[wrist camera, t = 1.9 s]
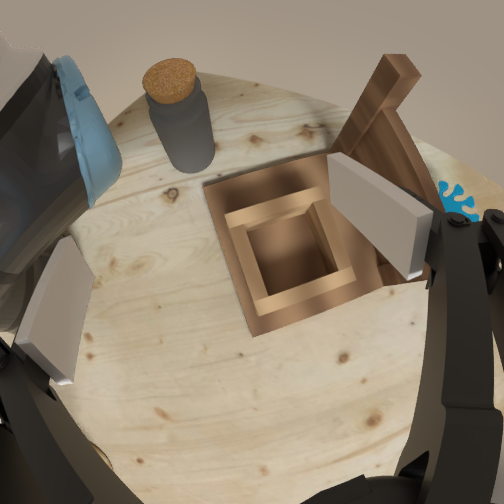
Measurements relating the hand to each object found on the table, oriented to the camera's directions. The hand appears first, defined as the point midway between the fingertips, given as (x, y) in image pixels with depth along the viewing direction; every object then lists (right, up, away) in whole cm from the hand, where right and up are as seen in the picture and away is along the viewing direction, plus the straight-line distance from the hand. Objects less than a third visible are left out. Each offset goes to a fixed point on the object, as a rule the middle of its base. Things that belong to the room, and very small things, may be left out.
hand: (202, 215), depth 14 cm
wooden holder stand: (+8, 0, +21) cm, 22 cm away
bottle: (-5, +11, +22) cm, 25 cm away
